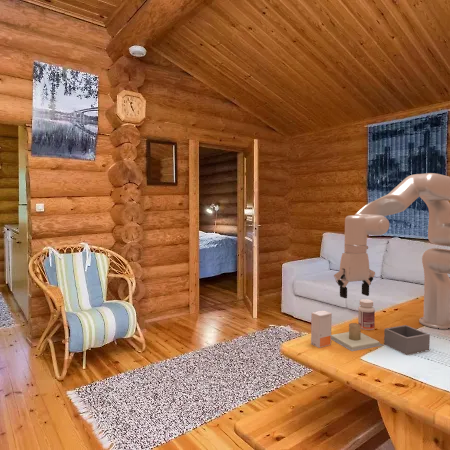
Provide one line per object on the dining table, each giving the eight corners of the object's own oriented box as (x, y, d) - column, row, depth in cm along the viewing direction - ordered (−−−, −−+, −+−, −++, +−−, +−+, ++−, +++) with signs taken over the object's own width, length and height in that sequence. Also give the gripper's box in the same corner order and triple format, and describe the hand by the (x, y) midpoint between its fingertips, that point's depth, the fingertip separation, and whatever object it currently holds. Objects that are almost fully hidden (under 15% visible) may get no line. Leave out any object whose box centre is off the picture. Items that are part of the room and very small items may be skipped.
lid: (356, 333, 140) (357, 318, 139) (379, 344, 128) (379, 328, 128) (330, 337, 136) (330, 321, 135) (352, 349, 124) (352, 332, 124)
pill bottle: (377, 328, 145) (378, 301, 145) (368, 332, 142) (368, 303, 141) (364, 324, 150) (364, 297, 150) (354, 327, 147) (355, 300, 146)
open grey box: (405, 340, 132) (405, 324, 132) (429, 351, 123) (429, 334, 123) (384, 344, 129) (384, 328, 129) (406, 356, 120) (407, 338, 119)
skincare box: (318, 349, 126) (319, 315, 126) (310, 344, 130) (310, 312, 129) (331, 345, 129) (332, 313, 128) (323, 341, 133) (323, 309, 132)
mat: (357, 332, 141) (357, 332, 141) (384, 346, 128) (384, 345, 128) (327, 337, 136) (327, 336, 136) (351, 352, 123) (351, 351, 123)
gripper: (367, 247, 136) (366, 291, 137) (328, 249, 130) (328, 295, 131) (382, 249, 129) (381, 296, 130) (342, 252, 123) (341, 301, 124)
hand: (354, 296), depth 131 cm, fingers open, 9 cm apart
